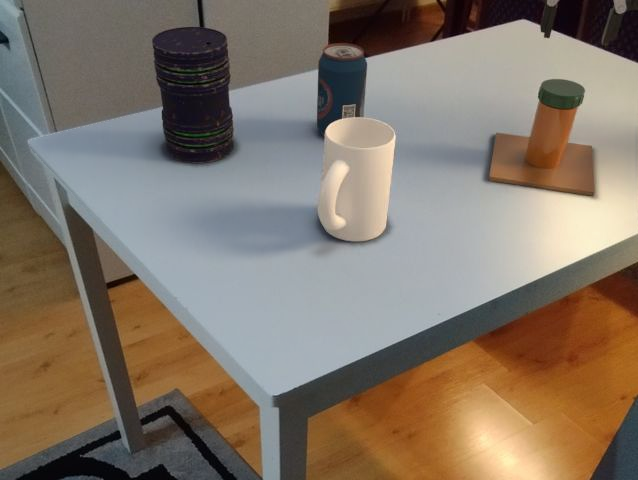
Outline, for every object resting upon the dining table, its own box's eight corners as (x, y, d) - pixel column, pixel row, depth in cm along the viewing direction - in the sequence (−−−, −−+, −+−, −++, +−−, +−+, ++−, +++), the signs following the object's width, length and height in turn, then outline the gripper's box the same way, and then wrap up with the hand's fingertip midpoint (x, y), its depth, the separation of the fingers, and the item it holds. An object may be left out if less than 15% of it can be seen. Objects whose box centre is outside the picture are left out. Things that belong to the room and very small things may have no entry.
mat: (590, 149, 101) (592, 145, 101) (593, 196, 91) (595, 192, 91) (495, 136, 103) (496, 132, 103) (488, 180, 94) (489, 176, 93)
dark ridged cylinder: (151, 153, 96) (135, 44, 86) (190, 126, 103) (179, 21, 93) (211, 169, 94) (201, 58, 83) (247, 140, 100) (242, 34, 90)
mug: (290, 243, 81) (289, 149, 73) (340, 199, 89) (345, 110, 80) (350, 266, 78) (356, 171, 70) (397, 218, 86) (407, 128, 77)
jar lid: (581, 94, 93) (584, 81, 92) (581, 111, 89) (585, 98, 87) (538, 88, 94) (541, 76, 92) (537, 105, 90) (540, 92, 88)
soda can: (310, 124, 105) (312, 43, 96) (353, 119, 106) (358, 39, 98) (324, 144, 100) (327, 61, 92) (369, 139, 102) (375, 56, 93)
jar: (561, 154, 98) (581, 86, 92) (561, 170, 95) (582, 101, 88) (525, 148, 99) (542, 81, 93) (523, 165, 96) (541, 96, 89)
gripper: (551, -119, 73) (516, 42, 84) (693, -108, 70) (637, 57, 82) (552, -130, 78) (518, 23, 89) (684, -120, 76) (633, 36, 87)
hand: (575, 39), depth 86 cm, fingers open, 6 cm apart
